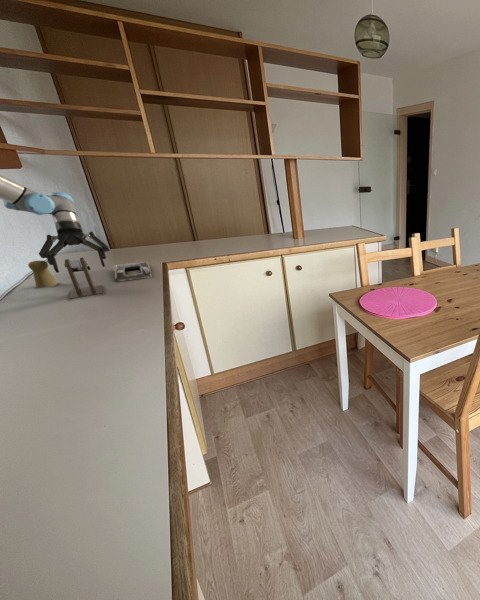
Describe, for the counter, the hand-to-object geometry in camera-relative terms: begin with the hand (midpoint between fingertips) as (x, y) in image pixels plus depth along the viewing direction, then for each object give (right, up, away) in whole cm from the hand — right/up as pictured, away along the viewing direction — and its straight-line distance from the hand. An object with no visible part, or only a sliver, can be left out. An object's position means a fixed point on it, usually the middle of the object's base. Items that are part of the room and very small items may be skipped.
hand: (80, 267), depth 126 cm
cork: (-15, -8, +2) cm, 17 cm away
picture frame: (+5, -1, +19) cm, 20 cm away
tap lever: (+5, -1, -5) cm, 7 cm away
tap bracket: (+7, -11, -5) cm, 14 cm away
